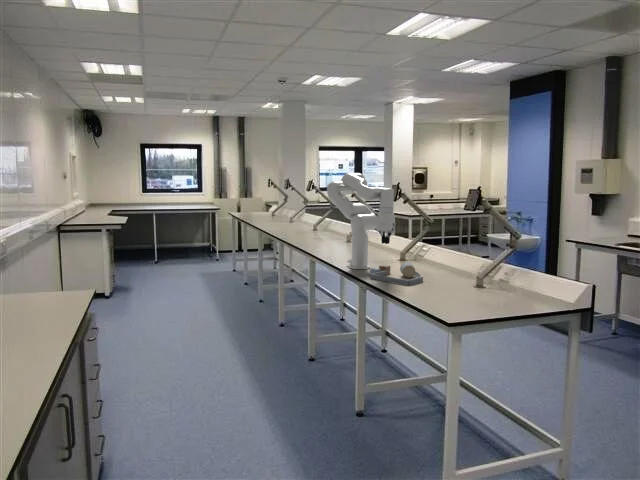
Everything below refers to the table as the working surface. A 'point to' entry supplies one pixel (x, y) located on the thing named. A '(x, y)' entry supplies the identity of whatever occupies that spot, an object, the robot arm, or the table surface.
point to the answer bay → (395, 280)
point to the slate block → (374, 270)
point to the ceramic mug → (408, 270)
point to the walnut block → (385, 268)
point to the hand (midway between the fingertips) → (385, 243)
